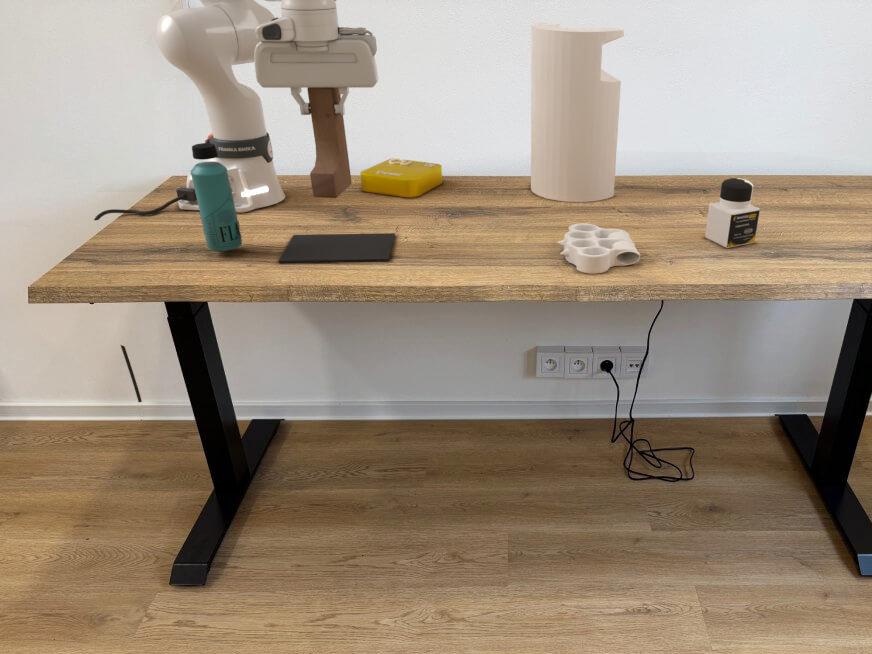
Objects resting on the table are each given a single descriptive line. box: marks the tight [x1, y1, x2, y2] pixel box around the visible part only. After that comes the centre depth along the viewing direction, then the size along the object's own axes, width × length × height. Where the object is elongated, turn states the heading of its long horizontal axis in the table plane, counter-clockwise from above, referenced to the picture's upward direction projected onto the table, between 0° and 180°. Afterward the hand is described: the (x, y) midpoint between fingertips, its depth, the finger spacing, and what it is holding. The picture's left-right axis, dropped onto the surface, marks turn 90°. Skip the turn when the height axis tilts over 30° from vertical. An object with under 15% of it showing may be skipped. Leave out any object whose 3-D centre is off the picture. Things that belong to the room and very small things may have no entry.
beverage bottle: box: [189, 142, 243, 252], centre depth 141 cm, size 6×7×20 cm
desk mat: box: [278, 232, 396, 264], centre depth 149 cm, size 20×14×1 cm
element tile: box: [359, 157, 443, 199], centre depth 183 cm, size 15×15×5 cm
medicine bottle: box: [704, 177, 761, 249], centre depth 152 cm, size 7×7×12 cm
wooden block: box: [306, 88, 352, 199], centre depth 138 cm, size 9×4×18 cm, turn 174°
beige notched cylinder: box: [530, 22, 625, 203], centre depth 171 cm, size 35×11×21 cm
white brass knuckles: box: [556, 222, 641, 275], centre depth 146 cm, size 3×18×15 cm
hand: (323, 114), depth 136 cm, fingers closed on wooden block, 4 cm apart
